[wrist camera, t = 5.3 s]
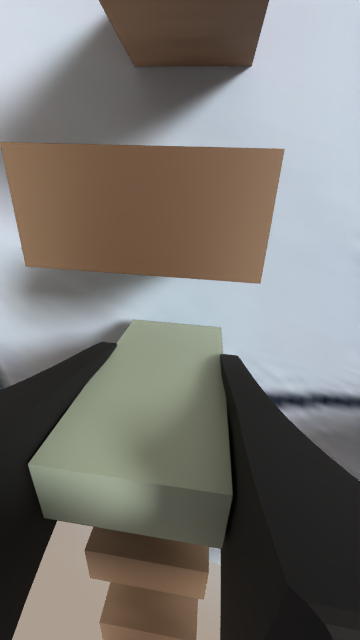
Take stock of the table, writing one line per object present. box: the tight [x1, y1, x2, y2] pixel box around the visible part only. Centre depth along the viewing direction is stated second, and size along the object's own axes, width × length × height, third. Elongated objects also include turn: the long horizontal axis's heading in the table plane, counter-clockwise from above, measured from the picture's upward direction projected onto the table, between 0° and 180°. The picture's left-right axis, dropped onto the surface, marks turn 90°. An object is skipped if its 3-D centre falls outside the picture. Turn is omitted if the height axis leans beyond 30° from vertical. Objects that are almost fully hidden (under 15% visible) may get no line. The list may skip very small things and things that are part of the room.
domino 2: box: [28, 320, 233, 549], centre depth 8 cm, size 4×2×7 cm, turn 88°
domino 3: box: [85, 527, 209, 599], centre depth 12 cm, size 4×2×7 cm, turn 87°
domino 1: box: [0, 142, 284, 284], centre depth 7 cm, size 4×2×7 cm, turn 87°
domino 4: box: [100, 582, 198, 640], centre depth 14 cm, size 4×2×7 cm, turn 87°
